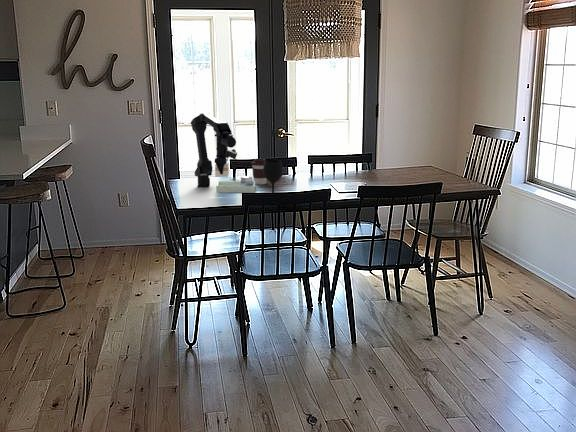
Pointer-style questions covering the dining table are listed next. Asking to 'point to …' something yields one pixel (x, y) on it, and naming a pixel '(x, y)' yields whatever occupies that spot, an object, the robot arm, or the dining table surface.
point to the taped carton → (225, 171)
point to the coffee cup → (258, 171)
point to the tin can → (246, 181)
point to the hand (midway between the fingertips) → (221, 173)
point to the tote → (233, 187)
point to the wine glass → (273, 171)
